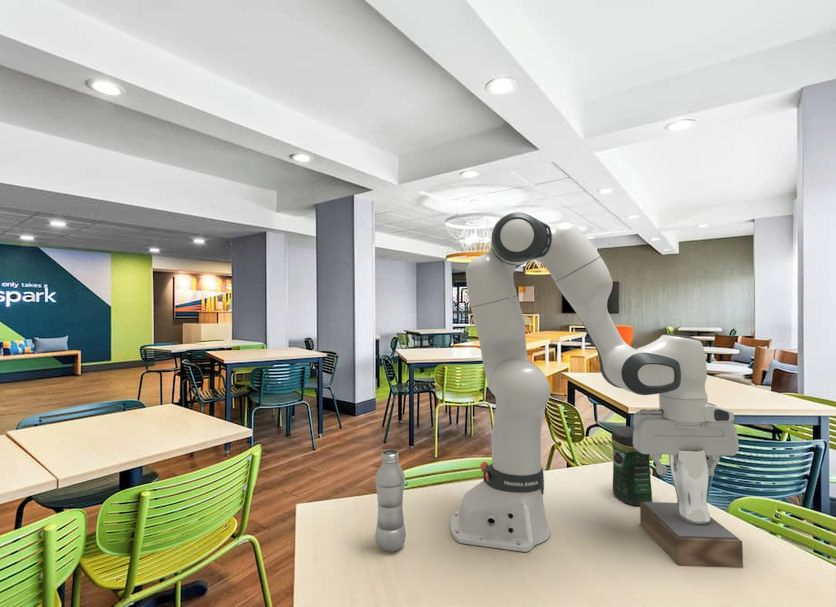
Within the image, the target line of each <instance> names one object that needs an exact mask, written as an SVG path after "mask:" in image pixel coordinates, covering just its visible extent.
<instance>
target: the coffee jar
mask: <svg viewBox="0 0 836 607" xmlns="http://www.w3.org/2000/svg"><path fill="white" fill-rule="evenodd" d="M633 432H634V427H630V426H629V425H627V426H626V425H622V426H621V425H619V426H614V428H613V429H612V430H611V446H612V453H613V454H612V455H613V457H612V458H613V460H612V463H613V464H612V468H613V470H612V493H613V494H614V496H616V497H617V498H618V499H620V500H622V502H624V503H626V504H629V505H637V506H640V503H643V502H653V493H652V492H653V491H652V490H653V489H652V481H651V466H650V454H642V453H640V452H639V451H637V450H636V449H635V448H634V446H633Z"/></svg>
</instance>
